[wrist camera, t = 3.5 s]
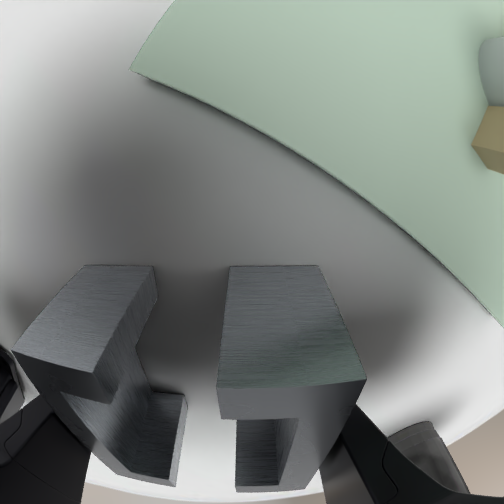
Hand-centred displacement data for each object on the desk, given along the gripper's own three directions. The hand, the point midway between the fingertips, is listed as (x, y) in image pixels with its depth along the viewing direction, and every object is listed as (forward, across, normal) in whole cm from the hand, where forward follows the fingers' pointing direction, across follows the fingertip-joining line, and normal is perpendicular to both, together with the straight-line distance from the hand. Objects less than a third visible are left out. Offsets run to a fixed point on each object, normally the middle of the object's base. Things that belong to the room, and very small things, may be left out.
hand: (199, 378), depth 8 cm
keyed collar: (+1, 0, 0) cm, 1 cm away
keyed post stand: (+1, -9, -10) cm, 13 cm away
